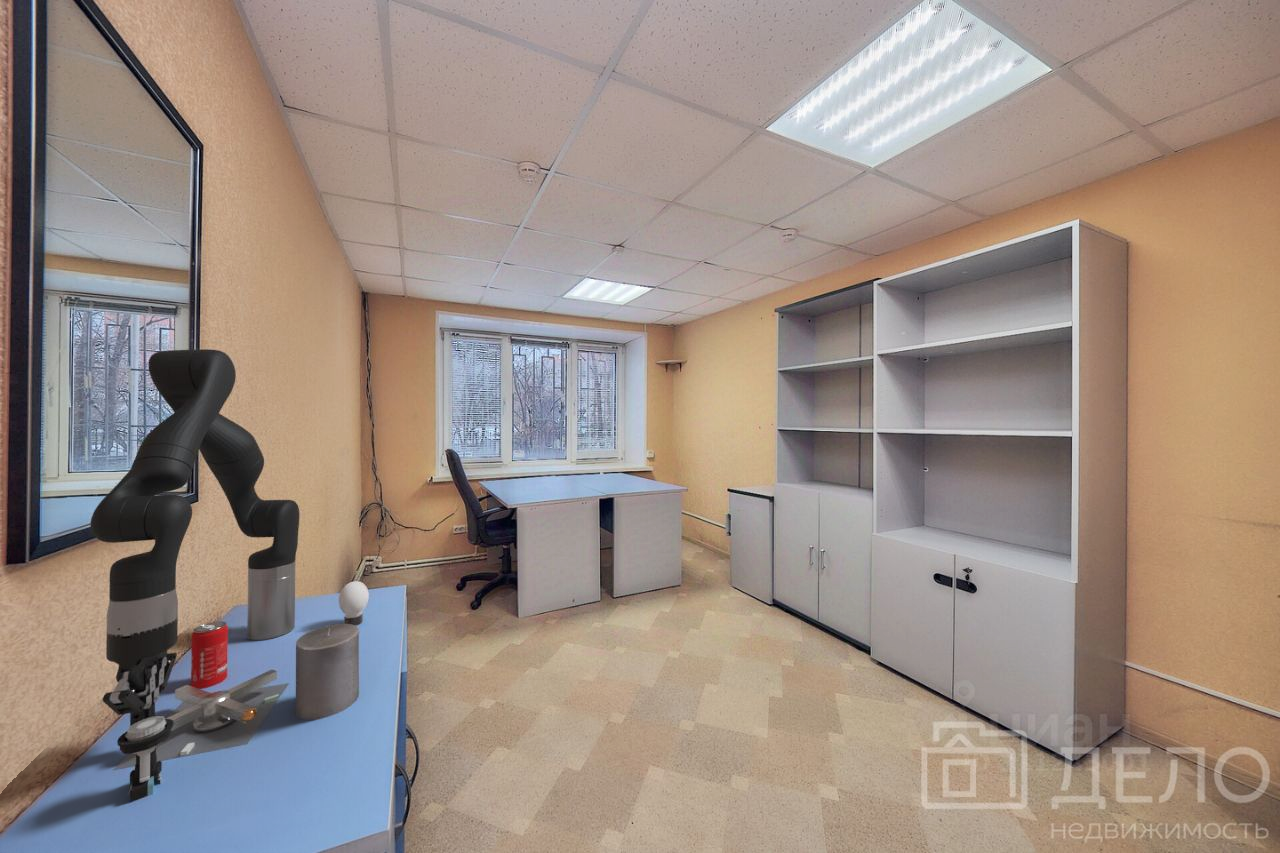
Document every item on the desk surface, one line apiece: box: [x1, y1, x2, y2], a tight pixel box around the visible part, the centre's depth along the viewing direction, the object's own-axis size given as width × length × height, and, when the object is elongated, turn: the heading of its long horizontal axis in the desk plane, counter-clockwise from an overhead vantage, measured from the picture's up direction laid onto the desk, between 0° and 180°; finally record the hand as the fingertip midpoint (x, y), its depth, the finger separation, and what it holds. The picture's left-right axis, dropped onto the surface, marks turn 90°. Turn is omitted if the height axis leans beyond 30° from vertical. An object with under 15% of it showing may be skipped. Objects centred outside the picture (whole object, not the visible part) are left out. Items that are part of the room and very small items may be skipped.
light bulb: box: [338, 580, 370, 626], centre depth 118 cm, size 7×7×11 cm
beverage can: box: [190, 620, 229, 690], centre depth 89 cm, size 5×5×12 cm
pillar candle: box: [295, 623, 360, 721], centre depth 83 cm, size 10×10×15 cm
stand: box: [113, 682, 290, 771], centre depth 77 cm, size 18×16×2 cm
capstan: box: [165, 669, 278, 733], centre depth 77 cm, size 20×19×4 cm
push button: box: [116, 715, 174, 803], centre depth 64 cm, size 7×5×10 cm
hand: (142, 730), depth 71 cm, fingers closed
